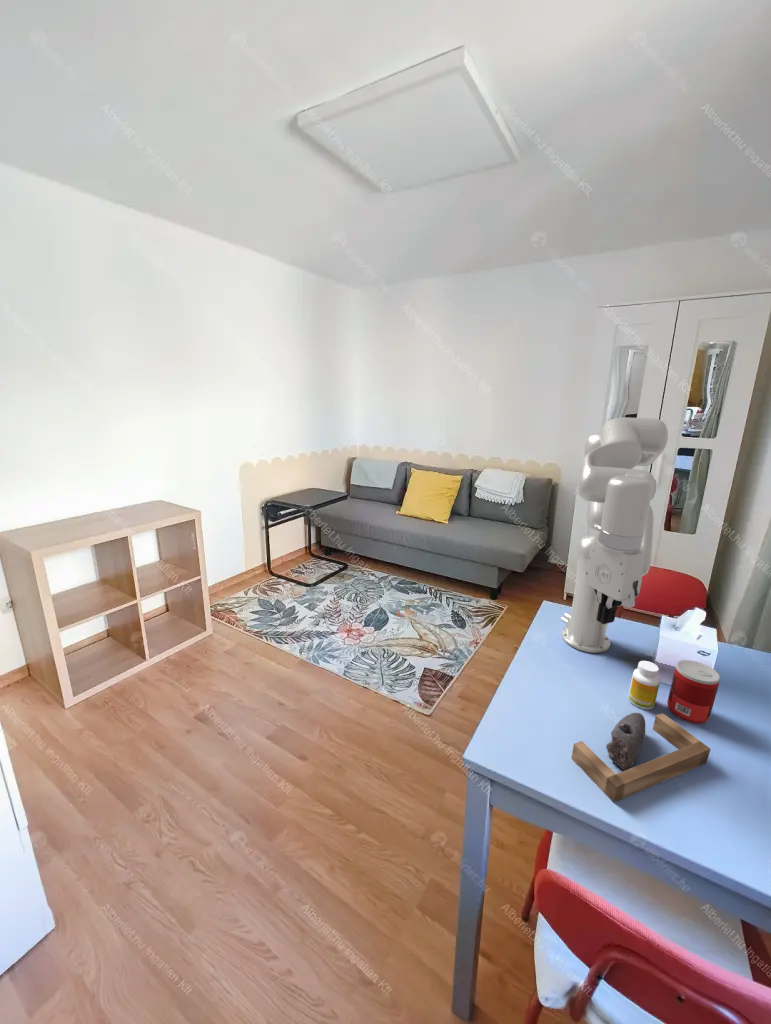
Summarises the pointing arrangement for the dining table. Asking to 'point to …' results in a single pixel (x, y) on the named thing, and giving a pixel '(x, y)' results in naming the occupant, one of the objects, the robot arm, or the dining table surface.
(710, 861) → the dining table surface
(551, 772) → the dining table surface
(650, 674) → the supplement bottle
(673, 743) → the bay
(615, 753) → the perforated stone tool
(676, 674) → the canned food
